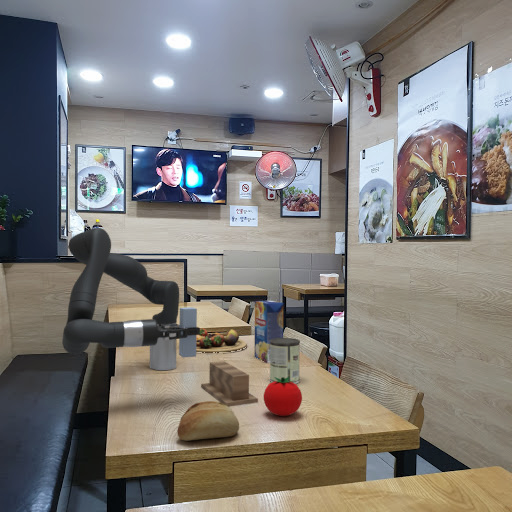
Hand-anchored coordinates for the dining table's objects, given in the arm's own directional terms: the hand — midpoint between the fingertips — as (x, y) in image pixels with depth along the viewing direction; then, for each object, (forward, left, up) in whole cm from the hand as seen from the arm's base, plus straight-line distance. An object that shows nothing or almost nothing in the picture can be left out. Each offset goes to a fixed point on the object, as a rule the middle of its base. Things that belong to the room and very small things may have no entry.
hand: (196, 329), depth 139 cm
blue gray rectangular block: (-2, -2, -7) cm, 8 cm away
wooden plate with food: (-23, +79, -21) cm, 85 cm away
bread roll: (+14, -26, -21) cm, 36 cm away
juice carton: (+8, +60, -21) cm, 64 cm away
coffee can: (+21, +28, -21) cm, 41 cm away
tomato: (+27, -6, -21) cm, 35 cm away
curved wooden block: (+7, +8, -21) cm, 23 cm away
